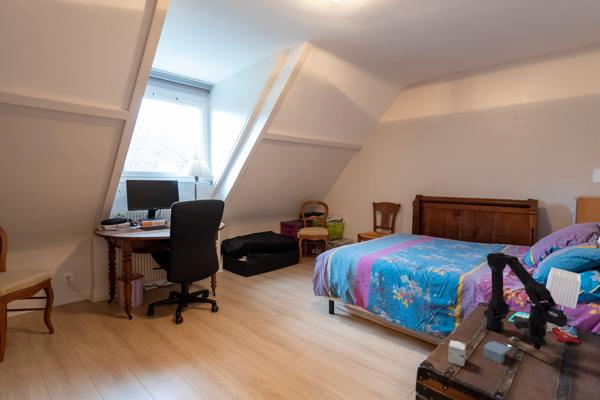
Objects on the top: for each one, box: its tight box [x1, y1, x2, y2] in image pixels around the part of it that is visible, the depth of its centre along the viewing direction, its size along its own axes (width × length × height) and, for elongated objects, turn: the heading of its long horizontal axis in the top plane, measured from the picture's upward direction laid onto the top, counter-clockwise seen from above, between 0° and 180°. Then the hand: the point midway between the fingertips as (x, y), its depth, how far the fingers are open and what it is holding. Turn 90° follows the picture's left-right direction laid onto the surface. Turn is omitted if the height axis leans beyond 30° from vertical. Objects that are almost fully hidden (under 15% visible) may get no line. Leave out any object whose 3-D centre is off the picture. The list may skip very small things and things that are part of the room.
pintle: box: [504, 336, 519, 350], centre depth 144 cm, size 7×7×4 cm
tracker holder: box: [550, 326, 580, 344], centre depth 150 cm, size 12×4×10 cm
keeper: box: [483, 340, 512, 365], centre depth 136 cm, size 8×9×4 cm
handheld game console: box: [508, 311, 530, 323], centre depth 170 cm, size 10×16×1 cm, turn 130°
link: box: [508, 336, 556, 365], centre depth 138 cm, size 18×4×2 cm, turn 19°
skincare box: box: [447, 339, 467, 367], centre depth 133 cm, size 6×6×7 cm
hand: (536, 350), depth 138 cm, fingers closed
